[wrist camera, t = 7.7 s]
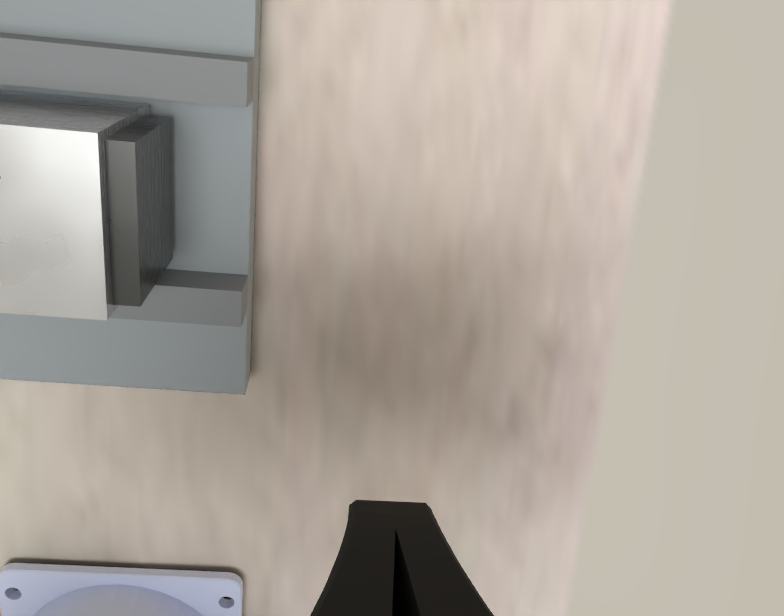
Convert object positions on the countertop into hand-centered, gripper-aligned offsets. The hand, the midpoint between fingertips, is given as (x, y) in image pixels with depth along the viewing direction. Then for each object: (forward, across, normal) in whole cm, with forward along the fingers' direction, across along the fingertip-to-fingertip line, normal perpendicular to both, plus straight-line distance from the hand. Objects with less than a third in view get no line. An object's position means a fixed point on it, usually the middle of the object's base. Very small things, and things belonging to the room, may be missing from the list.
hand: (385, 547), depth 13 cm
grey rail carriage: (+9, +8, -4) cm, 13 cm away
